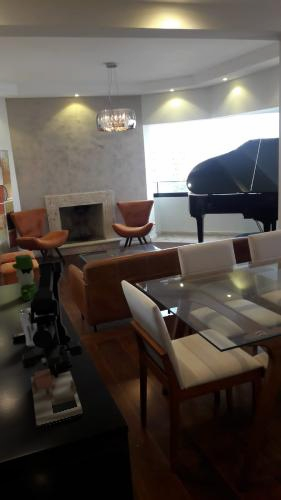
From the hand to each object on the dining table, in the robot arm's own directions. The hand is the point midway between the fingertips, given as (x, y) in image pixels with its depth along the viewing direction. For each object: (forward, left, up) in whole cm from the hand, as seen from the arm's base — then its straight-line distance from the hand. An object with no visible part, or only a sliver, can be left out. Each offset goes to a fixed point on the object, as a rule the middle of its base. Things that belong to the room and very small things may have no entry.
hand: (56, 377), depth 126 cm
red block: (0, -4, -2) cm, 4 cm away
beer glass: (-40, -6, -4) cm, 40 cm away
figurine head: (-110, -4, -4) cm, 110 cm away
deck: (+7, -2, -4) cm, 8 cm away
